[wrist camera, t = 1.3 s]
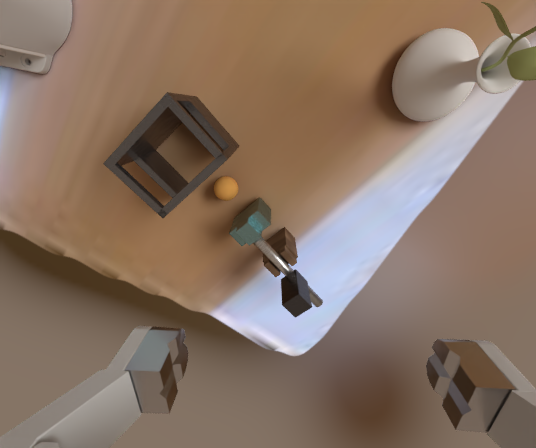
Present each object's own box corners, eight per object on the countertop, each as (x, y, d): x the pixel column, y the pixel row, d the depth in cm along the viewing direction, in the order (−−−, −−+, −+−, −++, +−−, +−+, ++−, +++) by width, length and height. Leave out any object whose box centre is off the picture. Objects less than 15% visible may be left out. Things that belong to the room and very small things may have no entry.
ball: (217, 196, 46) (212, 203, 42) (215, 173, 44) (210, 179, 41) (240, 196, 46) (237, 203, 42) (238, 173, 44) (235, 179, 40)
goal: (239, 146, 42) (227, 159, 31) (189, 191, 46) (162, 218, 35) (196, 96, 39) (166, 92, 28) (147, 149, 43) (103, 163, 32)
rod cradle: (294, 238, 49) (298, 261, 41) (274, 252, 50) (274, 278, 43) (284, 227, 48) (286, 249, 40) (264, 242, 49) (262, 266, 42)
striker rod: (325, 270, 51) (342, 324, 38) (301, 286, 52) (309, 343, 40) (259, 197, 45) (254, 232, 32) (234, 217, 47) (219, 259, 34)
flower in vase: (480, 87, 38) (789, 57, 15) (407, 136, 41) (574, 173, 18) (445, -2, 34) (796, -226, 11) (367, 60, 37) (518, -17, 14)
